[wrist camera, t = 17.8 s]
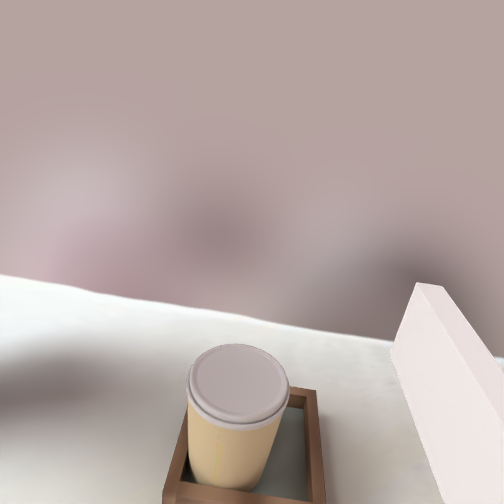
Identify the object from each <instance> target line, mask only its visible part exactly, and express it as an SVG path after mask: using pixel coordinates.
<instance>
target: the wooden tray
mask: <svg viewBox="0 0 504 504" xmlns="http://www.w3.org/2000/svg"><path fill="white" fill-rule="evenodd" d="M289 388H290V393H289V400H288V403H287V405H286V408H285V409H284V411H283V414H282V417H281V420H280V424H279V427H278V430H277V433H276V436H275V439H274V442H273V444H272V447H271V450H270V453H269V456H268V459H267V462H266V465H265V468H264V471H263V473H262V476H261V478H260V480H259V482H258V483H257V485H256V486H255V487H254V488H253V489H252V490H251V491H250V492H244V491H238V490H231V489H225V488H219V487H213V486H207V485H201V484H196V483H195V481H194V479H193V477H192V475H191V472H190V467H189V448H188V407H187V410H186V414H185V417H184V421H183V424H182V427H181V431H180V434H179V438H178V441H177V444H176V448H175V451H174V455H173V458H172V462H171V465H170V468H169V472H168V475H167V479H166V482H165V485H164V489H163V494H162V504H326V495H325V484H324V473H323V462H322V451H321V440H320V429H319V418H318V408H317V397H316V390H309V389H303V388H297V387H291V386H289Z"/></svg>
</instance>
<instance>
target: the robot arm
mask: <svg viewBox="0 0 504 504" xmlns="http://www.w3.org/2000/svg"><path fill="white" fill-rule="evenodd" d="M389 354H390V357H391V360H392V362H393V365H394V368H395V371H396V373H397V376H398V379H399V382H400V384H401V387H402V390H403V393H404V395H405V398H406V401H407V404H408V406H409V409H410V412H411V415H412V417H413V420H414V423H415V426H416V428H417V431H418V434H419V436H420V439H421V442H422V445H423V447H424V450H425V453H426V456H427V458H428V461H429V464H430V467H431V469H432V472H433V475H434V478H435V480H436V483H437V486H438V489H439V491H440V494H441V497H442V500H443V502H444V504H504V371H503V370H502V368H501V367H500V366H499V364H498V363H497V362H496V360H495V359H494V357H493V356H492V355H491V353H490V352H489V350H488V349H487V348H486V346H485V345H484V344H483V342H482V341H481V339H480V338H479V337H478V335H477V334H476V332H475V331H474V330H473V328H472V327H471V325H470V324H469V323H468V321H467V320H466V318H465V317H464V316H463V314H462V313H461V311H460V310H459V309H458V307H457V306H456V305H455V303H454V302H453V300H452V299H451V298H450V296H449V295H448V293H447V292H446V291H445V289H444V288H443V287H442V286H437V285H430V284H424V283H418V282H417V283H416V285H415V288H414V291H413V293H412V296H411V299H410V301H409V304H408V306H407V309H406V311H405V314H404V317H403V319H402V322H401V325H400V327H399V330H398V333H397V335H396V338H395V340H394V343H393V346H392V348H391V351H390V353H389Z"/></svg>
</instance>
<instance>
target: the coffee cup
mask: <svg viewBox="0 0 504 504" xmlns="http://www.w3.org/2000/svg"><path fill="white" fill-rule="evenodd" d="M186 391H187V396H188V448H189V467H190V472H191V475H192V477H193V479H194V481H195V483H196V484H201V485H207V486H213V487H219V488H225V489H231V490H238V491H244V492H250V491H251V490H252V489H253V488H254V487H255V486H256V485H257V483H258V482H259V480H260V478H261V476H262V473H263V471H264V468H265V465H266V462H267V459H268V456H269V453H270V450H271V447H272V444H273V442H274V439H275V436H276V433H277V430H278V427H279V424H280V420H281V417H282V414H283V411H284V409H285V408H286V405H287V403H288V400H289V393H290V388H289V382H288V379H287V377H286V374H285V371H284V370H283V368H282V366H281V365H280V364H279V363H278V361H277V360H276V359H275V358H273V357H272V356H271V355H270V354H268V353H266V352H265V351H263V350H261V349H258V348H256V347H253V346H249V345H243V344H226V345H221V346H217V347H214V348H212V349H210V350H208V351H206V352H205V353H203V354H202V355H201V356H200V357H199V358H198V359H197V360H196V361H195V363H194V364H193V365H192V367H191V368H190V370H189V372H188V376H187V380H186Z"/></svg>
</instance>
